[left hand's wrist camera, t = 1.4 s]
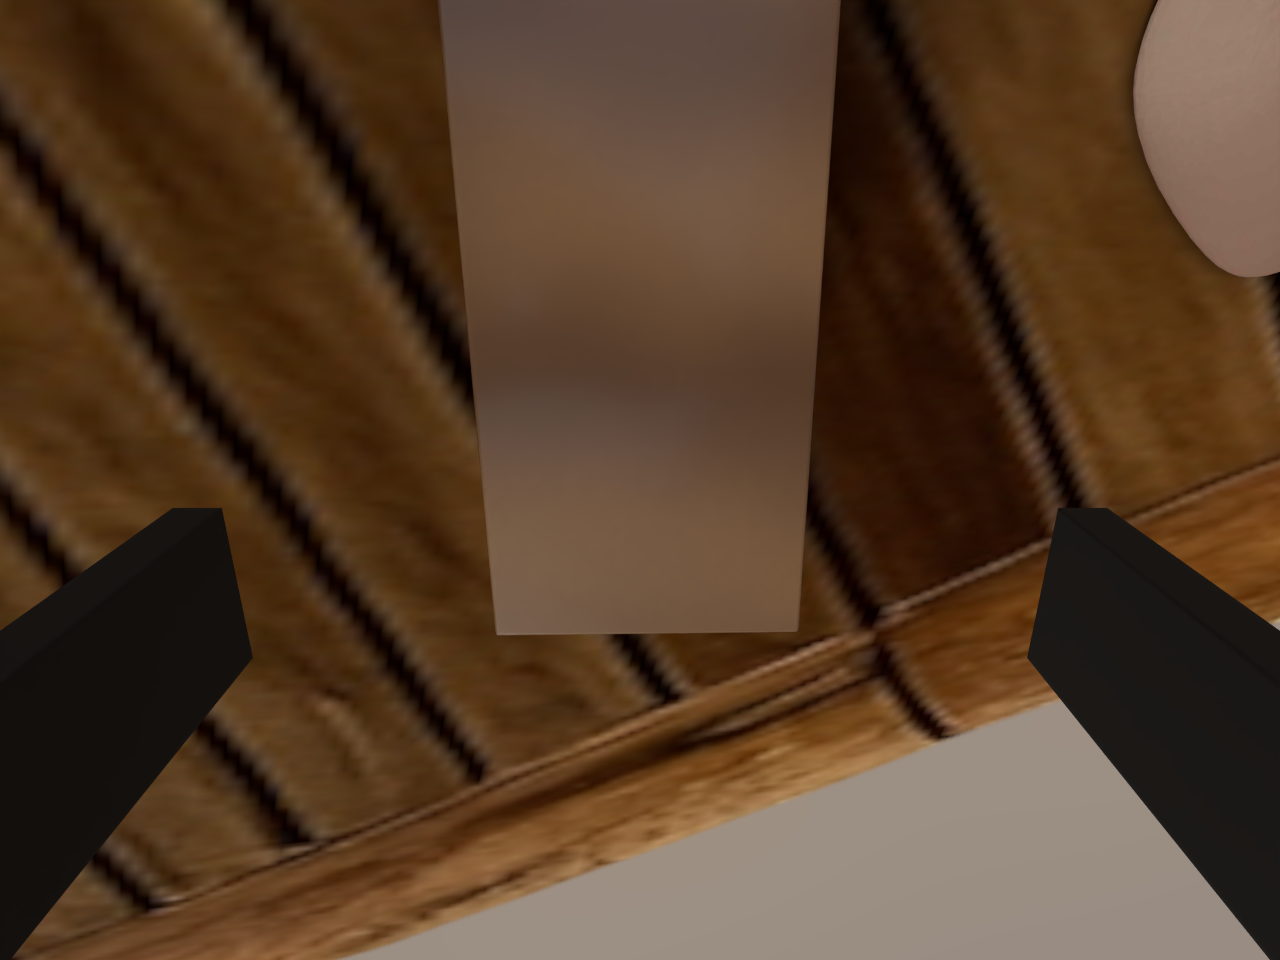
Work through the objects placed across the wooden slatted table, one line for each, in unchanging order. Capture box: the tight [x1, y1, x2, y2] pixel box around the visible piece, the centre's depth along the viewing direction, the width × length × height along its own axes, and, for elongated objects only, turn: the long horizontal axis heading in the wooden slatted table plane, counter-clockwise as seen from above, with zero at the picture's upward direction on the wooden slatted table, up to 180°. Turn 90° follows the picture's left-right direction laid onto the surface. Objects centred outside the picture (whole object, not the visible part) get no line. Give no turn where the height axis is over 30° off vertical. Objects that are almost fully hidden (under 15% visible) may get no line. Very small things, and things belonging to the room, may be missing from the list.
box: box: [437, 0, 841, 635], centre depth 18 cm, size 23×6×12 cm, turn 1°
